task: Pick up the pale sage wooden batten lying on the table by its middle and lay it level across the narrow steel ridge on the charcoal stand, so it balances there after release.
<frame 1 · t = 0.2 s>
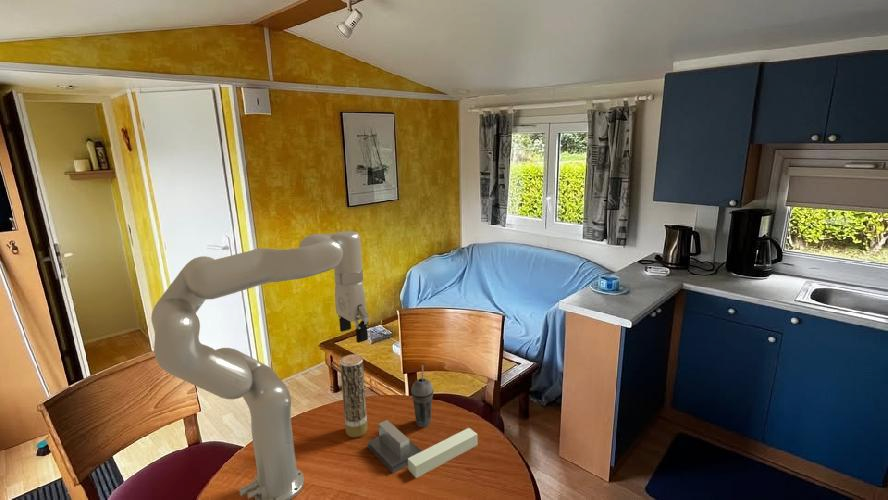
hand: (353, 335, 123), 36 cm above the table, tool pointing down, fingers open, 9 cm apart
beverage cup: (423, 423, 143), on the table
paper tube: (356, 432, 139), on the table
batten: (444, 457, 127), on the table
ridge stand: (394, 452, 129), on the table
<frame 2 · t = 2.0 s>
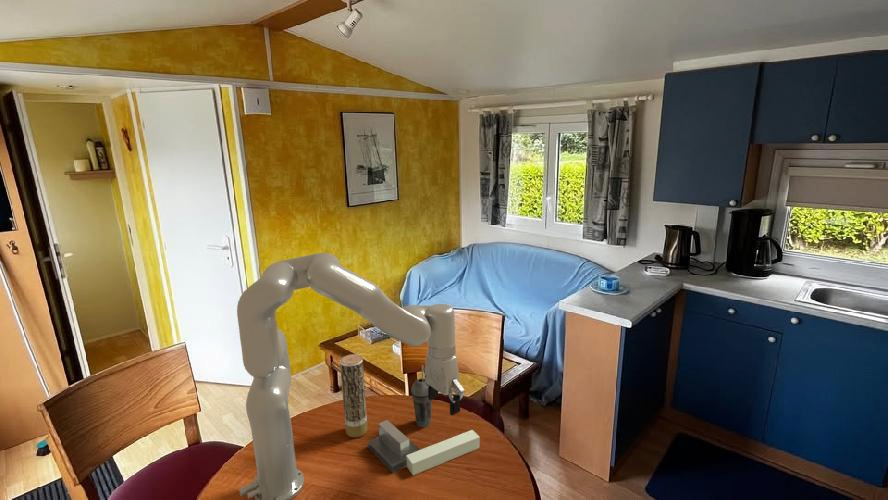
hand: (444, 405, 123), 17 cm above the table, tool pointing down, fingers open, 9 cm apart
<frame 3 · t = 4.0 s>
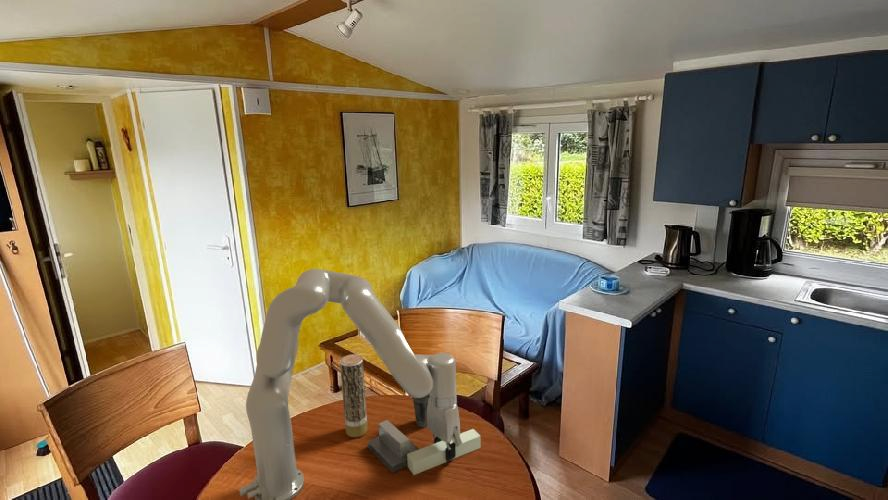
hand: (445, 453, 127), 1 cm above the table, tool pointing down, fingers closed on batten, 4 cm apart
batten: (445, 456, 127), on the table, touching gripper
everything else where it was.
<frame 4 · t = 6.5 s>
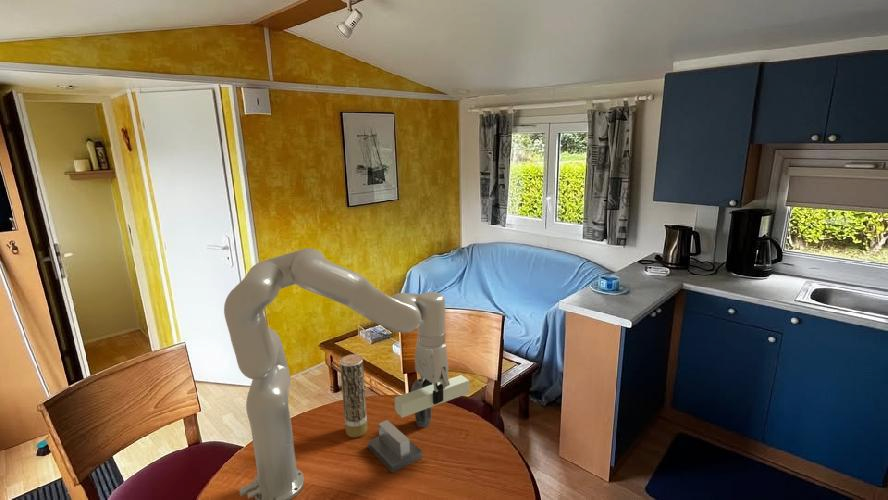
hand: (432, 397, 123), 19 cm above the table, tool pointing down, fingers closed on batten, 4 cm apart
batten: (433, 401, 124), point 18 cm above the table, touching gripper
everything else where it was.
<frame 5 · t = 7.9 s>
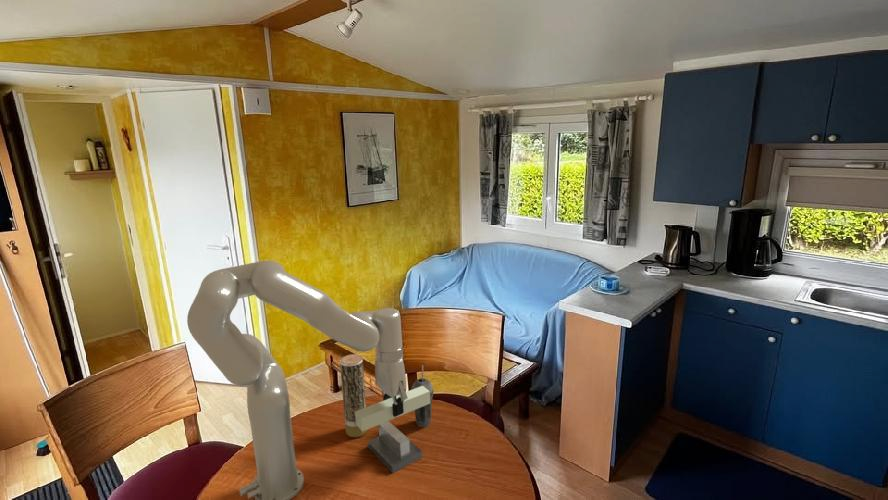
hand: (393, 410, 127), 14 cm above the table, tool pointing down, fingers closed on batten, 4 cm apart
batten: (394, 413, 127), point 13 cm above the table, touching gripper
everything else where it was.
when the fingers open (9 cm above the table, at t = 8.9 s): batten stays where it is, resting on ridge stand.
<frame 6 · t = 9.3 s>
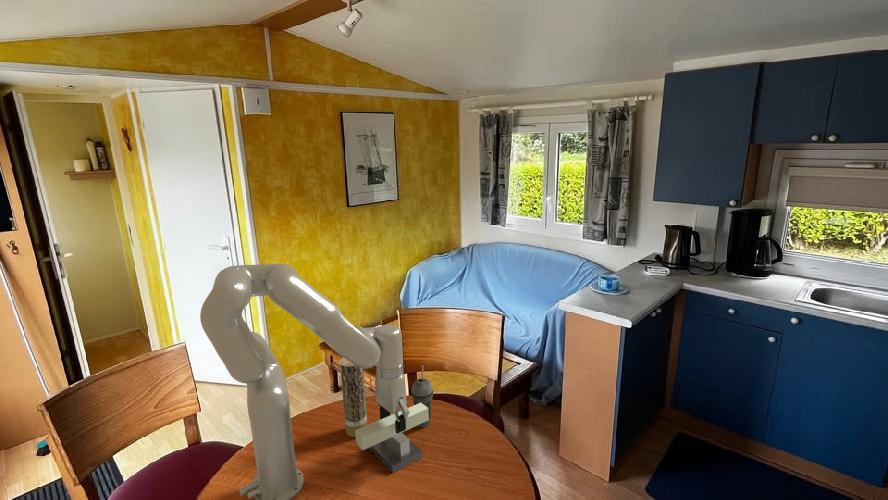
hand: (392, 424, 127), 9 cm above the table, tool pointing down, fingers open, 7 cm apart
batten: (393, 431, 128), point 7 cm above the table, touching ridge stand
everything else where it was.
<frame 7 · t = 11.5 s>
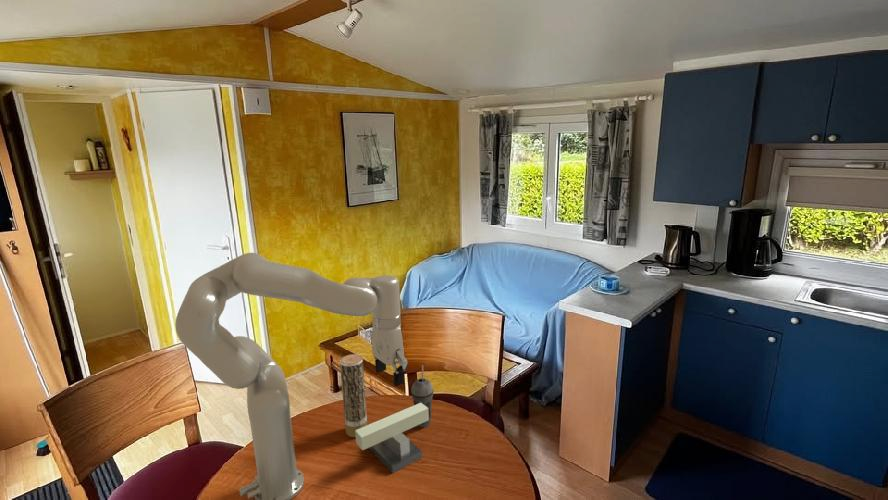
hand: (389, 377, 124), 24 cm above the table, tool pointing down, fingers open, 9 cm apart
nothing on the table moved.
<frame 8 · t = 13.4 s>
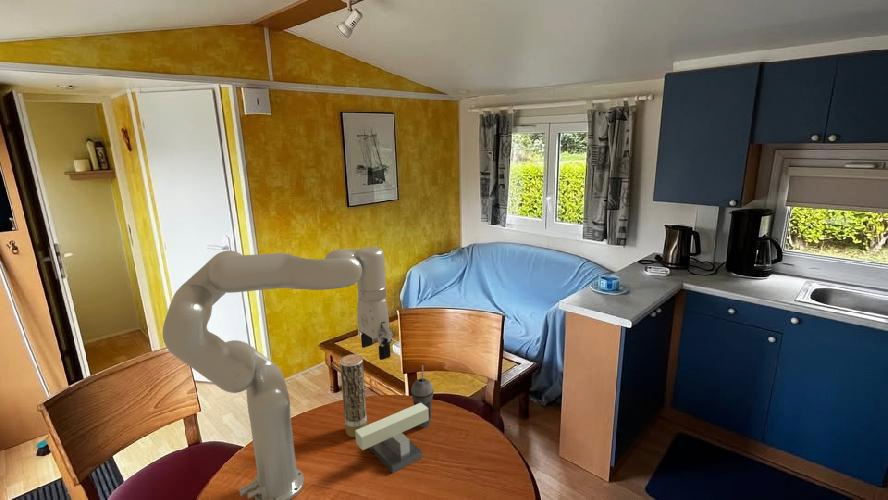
hand: (375, 352, 122), 32 cm above the table, tool pointing down, fingers open, 9 cm apart
nothing on the table moved.
at the end: batten 0.2 cm off-centre on the ridge stand, point 7.0 cm above the ridge stand's base; batten tilted 0°; the gripper is holding nothing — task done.
